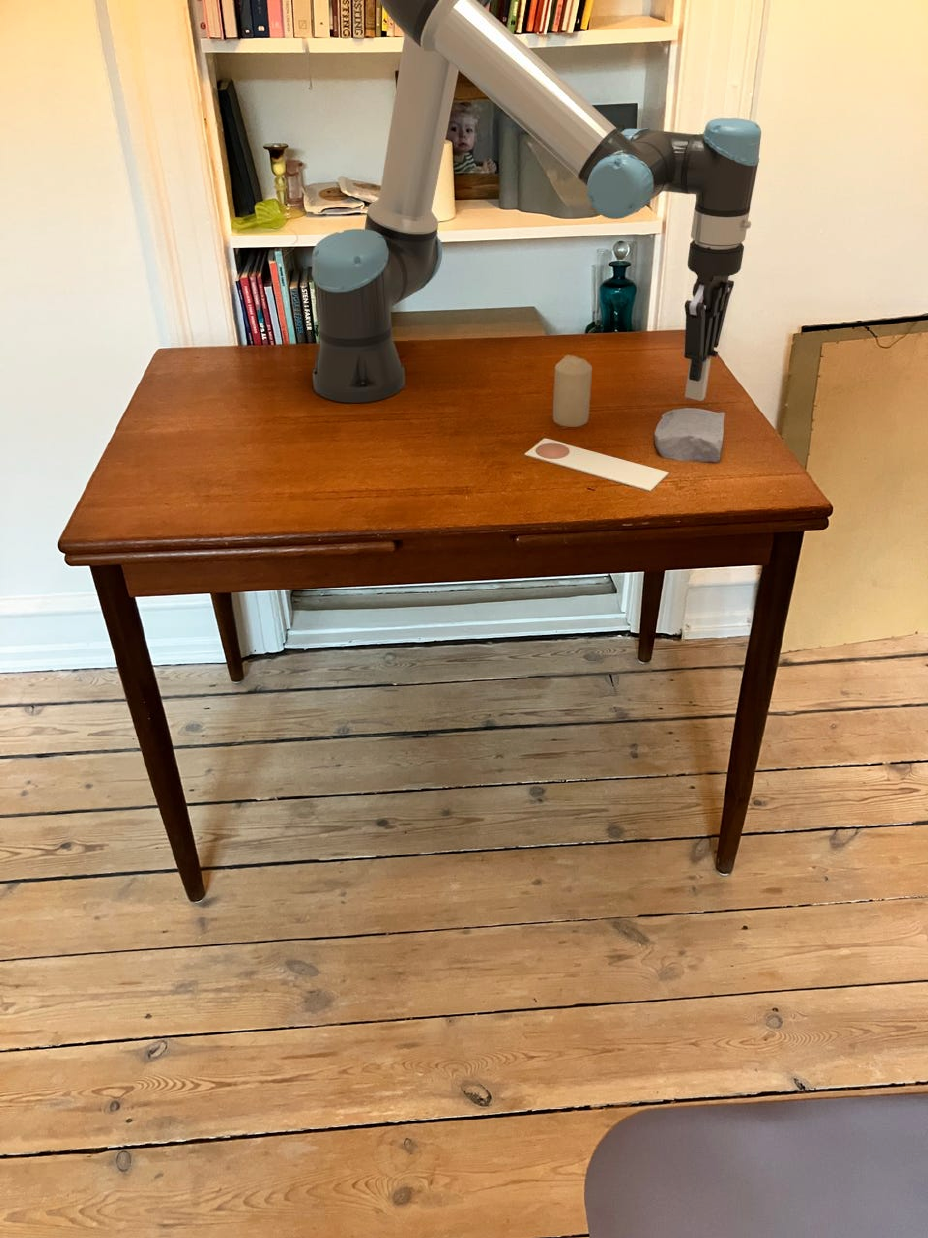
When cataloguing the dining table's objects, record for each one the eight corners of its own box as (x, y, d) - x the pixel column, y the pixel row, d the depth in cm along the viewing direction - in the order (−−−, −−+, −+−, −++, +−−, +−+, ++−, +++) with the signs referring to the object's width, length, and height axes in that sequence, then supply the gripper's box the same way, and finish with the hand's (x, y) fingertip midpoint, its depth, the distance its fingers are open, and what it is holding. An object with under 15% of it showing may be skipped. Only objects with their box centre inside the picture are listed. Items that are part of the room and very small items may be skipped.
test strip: (524, 455, 145) (524, 453, 145) (544, 439, 149) (544, 437, 149) (650, 491, 136) (650, 490, 136) (668, 473, 140) (668, 472, 140)
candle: (594, 416, 155) (599, 355, 149) (578, 430, 152) (582, 367, 146) (563, 409, 158) (566, 348, 152) (546, 422, 154) (548, 360, 148)
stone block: (655, 471, 145) (725, 464, 142) (651, 440, 143) (723, 433, 140) (659, 437, 155) (726, 431, 152) (656, 408, 152) (724, 401, 149)
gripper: (725, 257, 135) (700, 418, 149) (759, 234, 143) (733, 388, 158) (673, 248, 138) (654, 406, 152) (710, 226, 147) (689, 377, 161)
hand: (694, 397), depth 155 cm, fingers closed
